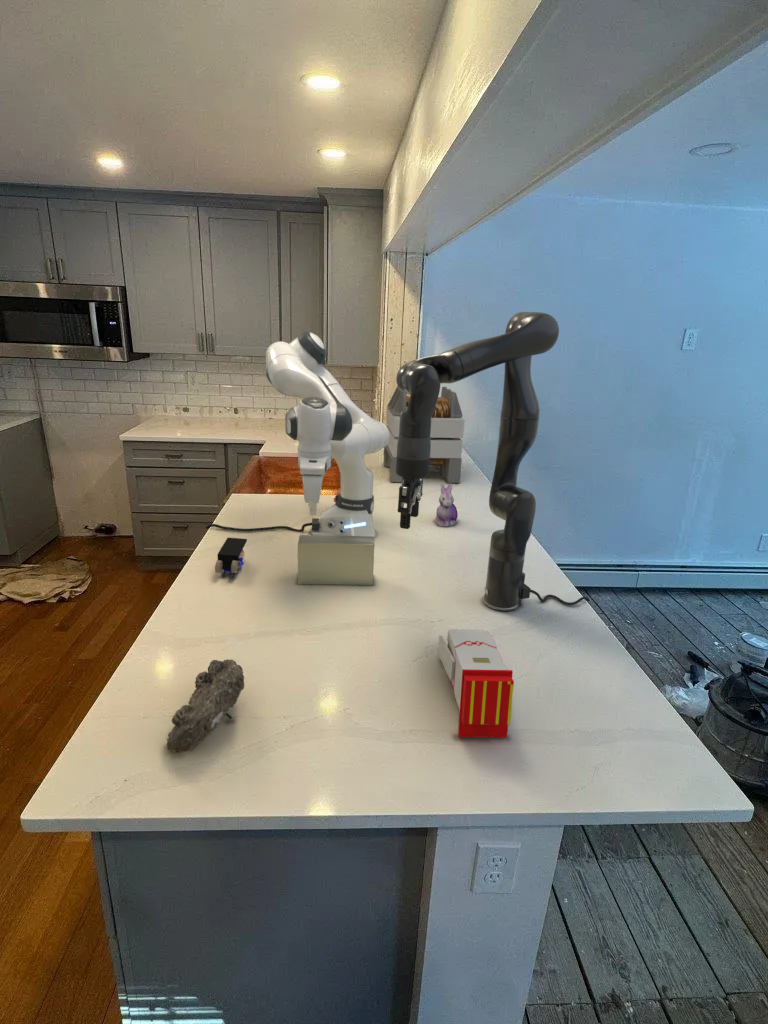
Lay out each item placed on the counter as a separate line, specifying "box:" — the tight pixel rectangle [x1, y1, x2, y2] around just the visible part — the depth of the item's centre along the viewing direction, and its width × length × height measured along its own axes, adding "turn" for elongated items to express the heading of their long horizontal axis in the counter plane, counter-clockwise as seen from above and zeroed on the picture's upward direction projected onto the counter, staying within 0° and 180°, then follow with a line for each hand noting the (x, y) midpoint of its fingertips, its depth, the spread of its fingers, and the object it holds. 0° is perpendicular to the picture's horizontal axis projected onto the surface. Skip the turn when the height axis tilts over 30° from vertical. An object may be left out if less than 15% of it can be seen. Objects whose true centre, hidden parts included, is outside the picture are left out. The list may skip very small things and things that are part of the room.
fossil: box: [166, 658, 245, 754], centre depth 106 cm, size 22×10×15 cm
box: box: [297, 534, 375, 586], centre depth 162 cm, size 21×6×13 cm, turn 93°
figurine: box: [434, 483, 459, 527], centre depth 210 cm, size 9×10×15 cm
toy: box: [437, 628, 515, 738], centre depth 117 cm, size 12×13×30 cm
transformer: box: [383, 385, 465, 484], centre depth 268 cm, size 34×33×41 cm
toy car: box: [214, 537, 248, 578], centre depth 166 cm, size 7×8×15 cm
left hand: (314, 508), depth 157 cm, fingers open, 8 cm apart
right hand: (409, 521), depth 133 cm, fingers open, 8 cm apart
